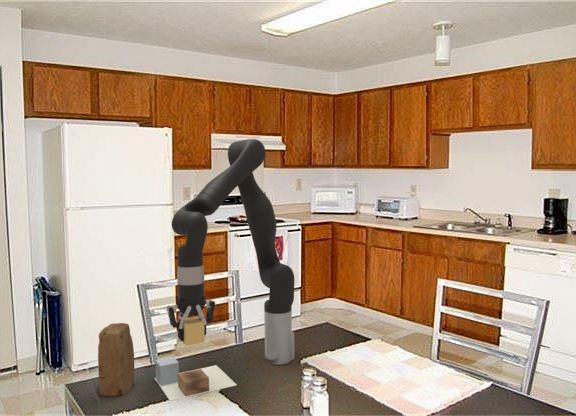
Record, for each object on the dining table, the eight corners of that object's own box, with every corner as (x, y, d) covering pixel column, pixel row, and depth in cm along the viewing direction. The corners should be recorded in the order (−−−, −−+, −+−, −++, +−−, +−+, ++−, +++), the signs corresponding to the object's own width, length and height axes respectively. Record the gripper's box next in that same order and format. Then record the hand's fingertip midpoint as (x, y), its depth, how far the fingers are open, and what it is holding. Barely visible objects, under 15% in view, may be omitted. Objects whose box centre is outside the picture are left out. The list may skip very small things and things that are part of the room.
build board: (216, 368, 161) (216, 365, 161) (237, 388, 147) (237, 384, 146) (154, 382, 152) (154, 378, 152) (170, 405, 137) (170, 400, 137)
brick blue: (173, 375, 154) (173, 356, 153) (179, 381, 149) (178, 362, 148) (156, 379, 151) (155, 359, 151) (160, 385, 146) (160, 366, 146)
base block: (201, 381, 149) (200, 368, 149) (209, 390, 143) (208, 377, 142) (178, 386, 146) (177, 373, 145) (185, 396, 139) (185, 382, 139)
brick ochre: (198, 336, 147) (197, 316, 146) (204, 342, 142) (204, 321, 142) (180, 339, 144) (179, 319, 144) (185, 345, 139) (185, 324, 139)
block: (121, 401, 139) (119, 332, 138) (96, 400, 140) (93, 331, 139) (138, 384, 150) (136, 320, 148) (115, 383, 151) (112, 319, 149)
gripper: (210, 275, 148) (211, 330, 150) (162, 281, 141) (163, 339, 143) (219, 280, 142) (220, 338, 143) (169, 286, 135) (171, 347, 136)
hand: (192, 338), depth 143 cm, fingers closed on brick ochre, 5 cm apart
